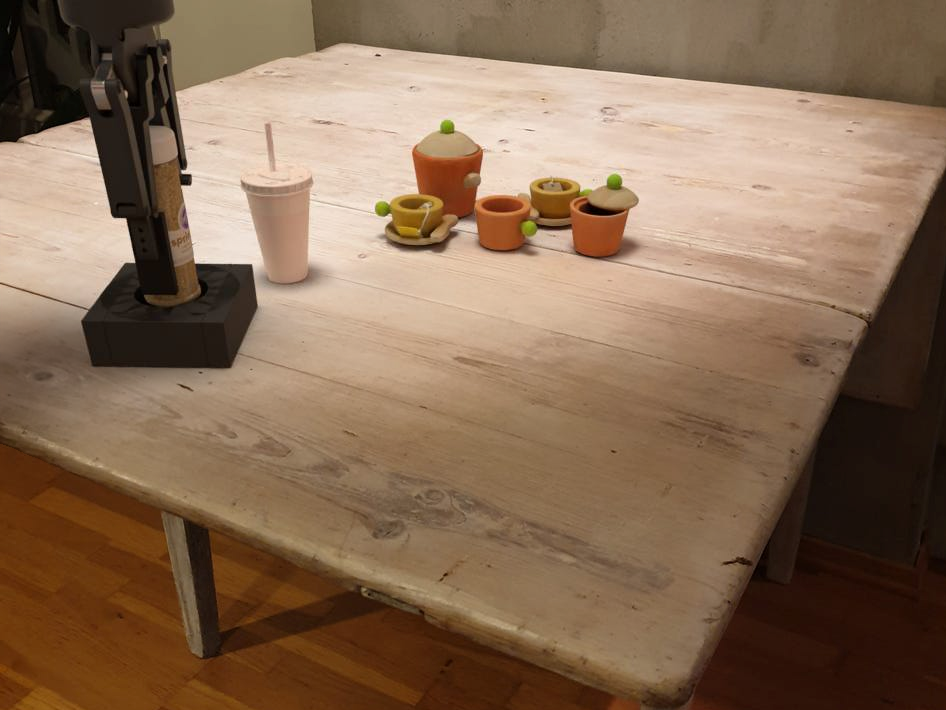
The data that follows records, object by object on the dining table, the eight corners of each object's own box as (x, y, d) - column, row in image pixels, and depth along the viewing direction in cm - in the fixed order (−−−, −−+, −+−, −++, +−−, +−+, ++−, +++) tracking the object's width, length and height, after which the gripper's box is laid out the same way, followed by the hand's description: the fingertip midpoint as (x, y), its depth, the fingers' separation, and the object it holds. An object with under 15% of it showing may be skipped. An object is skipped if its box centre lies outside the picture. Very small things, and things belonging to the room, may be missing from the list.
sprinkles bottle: (203, 306, 78) (174, 138, 70) (144, 312, 77) (108, 143, 69) (200, 282, 81) (173, 120, 74) (144, 288, 80) (110, 124, 73)
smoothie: (302, 256, 95) (287, 109, 87) (334, 278, 90) (321, 127, 82) (241, 271, 91) (220, 121, 84) (271, 295, 87) (252, 140, 79)
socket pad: (91, 366, 77) (80, 320, 74) (133, 304, 86) (124, 262, 83) (230, 367, 76) (223, 322, 74) (258, 305, 86) (252, 263, 83)
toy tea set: (368, 248, 96) (362, 151, 91) (403, 195, 109) (400, 107, 103) (631, 268, 93) (642, 169, 87) (636, 210, 105) (646, 121, 100)
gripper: (123, -19, 58) (188, 330, 71) (196, -59, 72) (238, 238, 85) (-2, -20, 58) (86, 329, 71) (96, -60, 72) (153, 237, 85)
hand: (169, 278), depth 78 cm, fingers closed on sprinkles bottle, 4 cm apart
